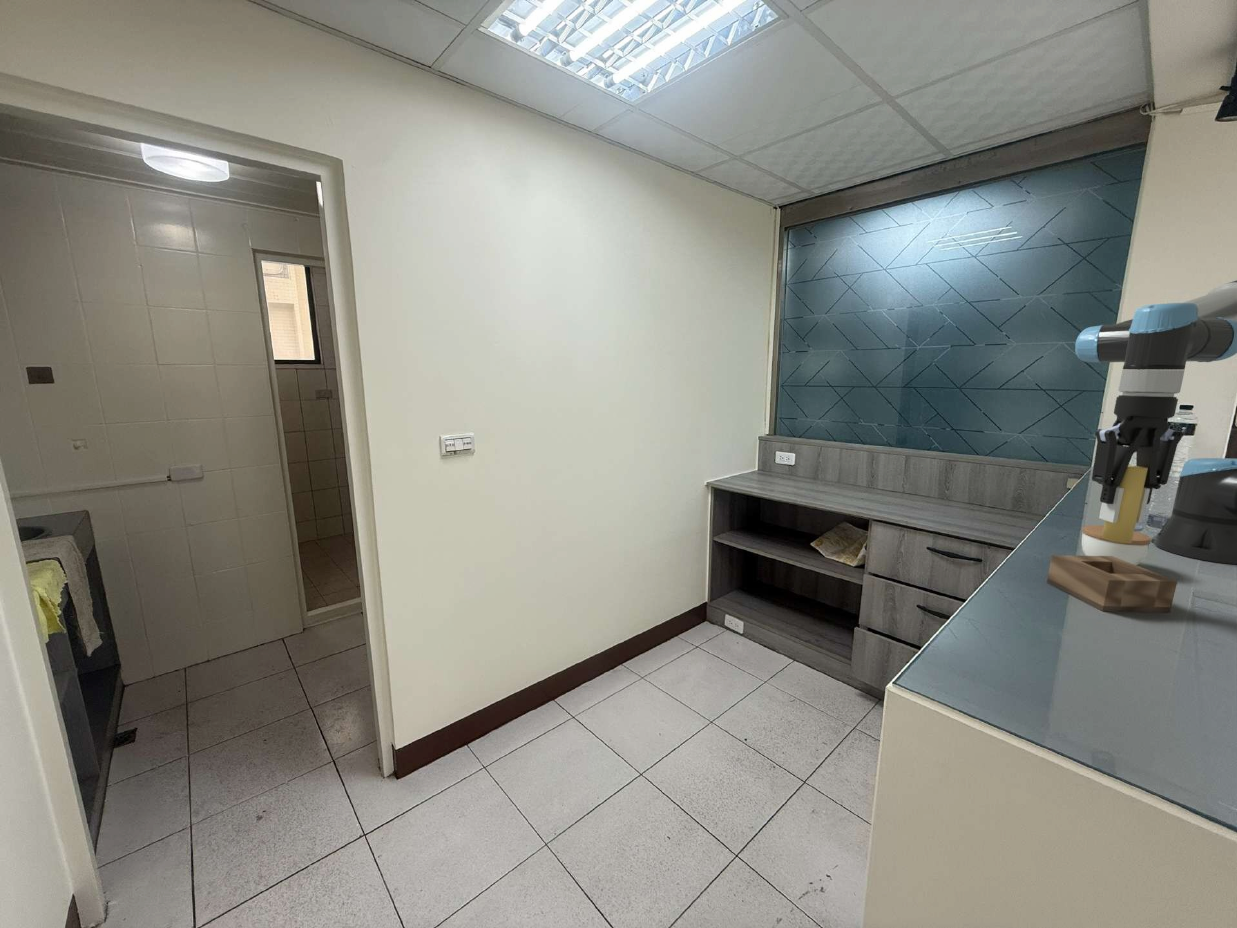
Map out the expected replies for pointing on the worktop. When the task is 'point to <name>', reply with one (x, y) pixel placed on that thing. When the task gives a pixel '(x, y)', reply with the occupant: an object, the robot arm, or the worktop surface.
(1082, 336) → the robot arm
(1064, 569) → the socket block
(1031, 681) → the worktop surface
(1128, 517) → the dowel
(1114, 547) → the lidded jar
